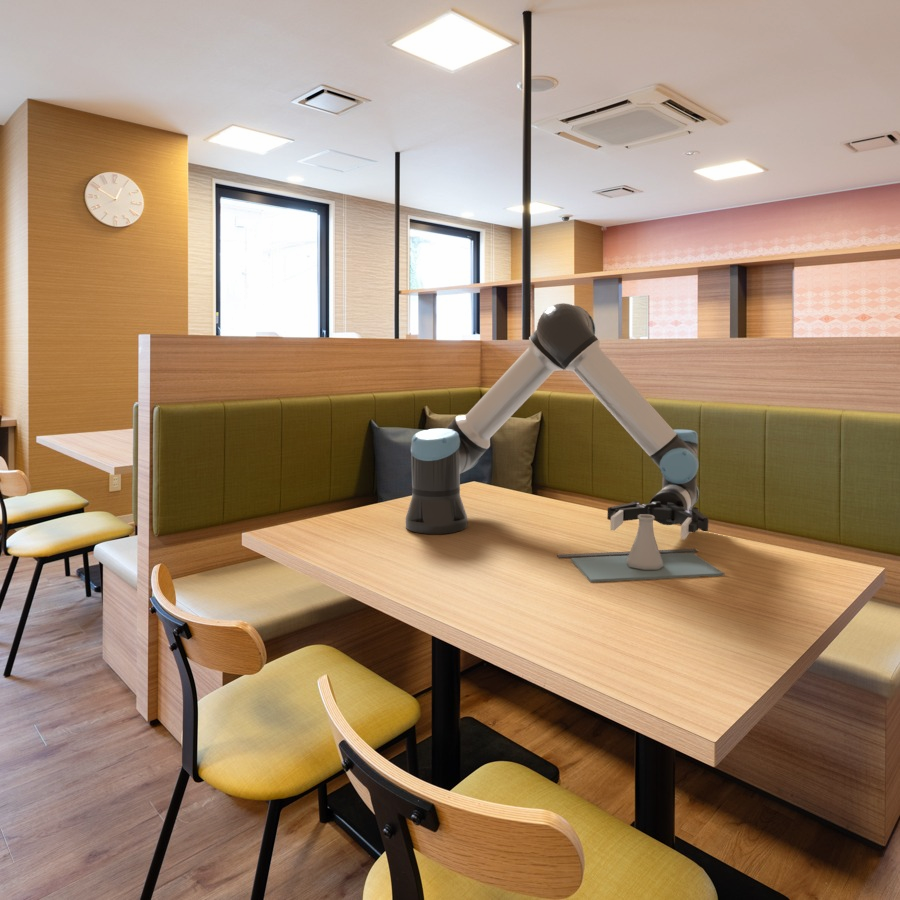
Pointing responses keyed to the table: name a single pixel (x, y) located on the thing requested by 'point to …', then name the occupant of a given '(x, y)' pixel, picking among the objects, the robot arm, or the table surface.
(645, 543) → the flask
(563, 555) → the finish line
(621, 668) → the table surface
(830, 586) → the table surface
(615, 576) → the mat
